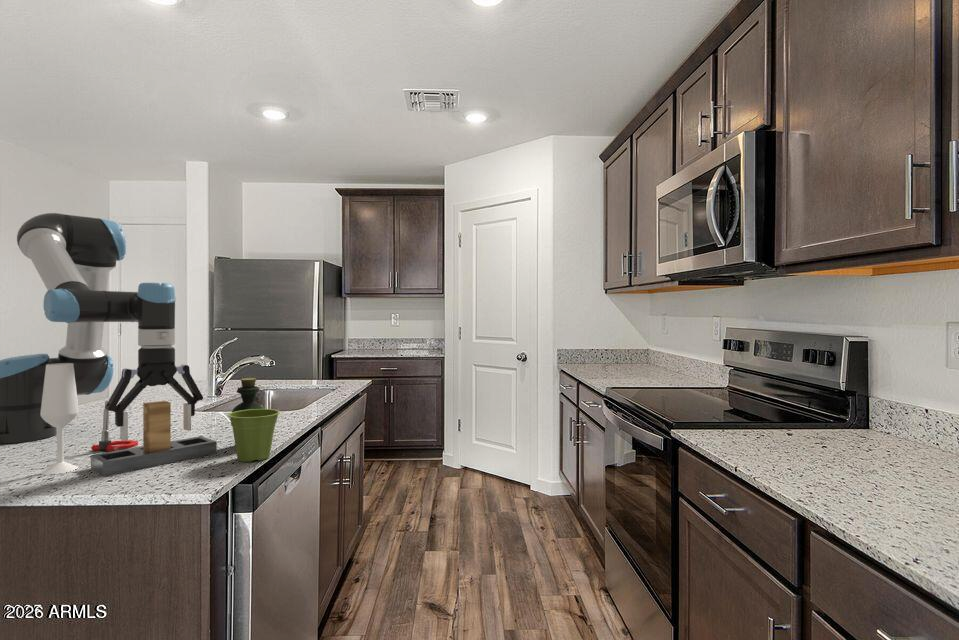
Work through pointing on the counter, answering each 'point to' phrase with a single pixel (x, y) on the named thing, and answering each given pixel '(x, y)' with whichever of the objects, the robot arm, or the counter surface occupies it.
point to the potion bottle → (248, 395)
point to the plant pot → (253, 433)
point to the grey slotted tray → (151, 456)
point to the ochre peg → (156, 426)
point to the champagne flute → (59, 407)
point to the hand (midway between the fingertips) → (157, 434)
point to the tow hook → (106, 443)
